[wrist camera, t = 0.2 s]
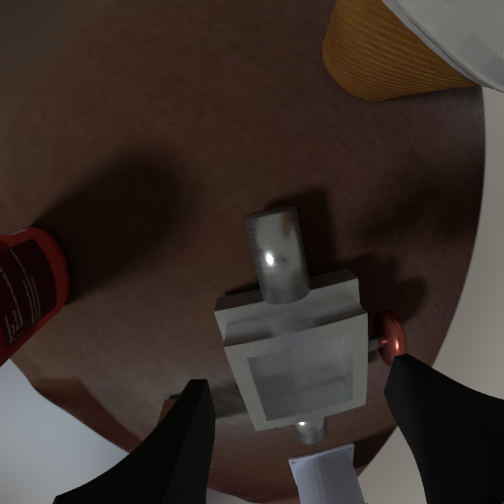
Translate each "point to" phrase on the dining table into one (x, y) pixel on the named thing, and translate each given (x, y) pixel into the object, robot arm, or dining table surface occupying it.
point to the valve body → (300, 333)
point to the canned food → (29, 285)
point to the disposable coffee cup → (414, 46)
